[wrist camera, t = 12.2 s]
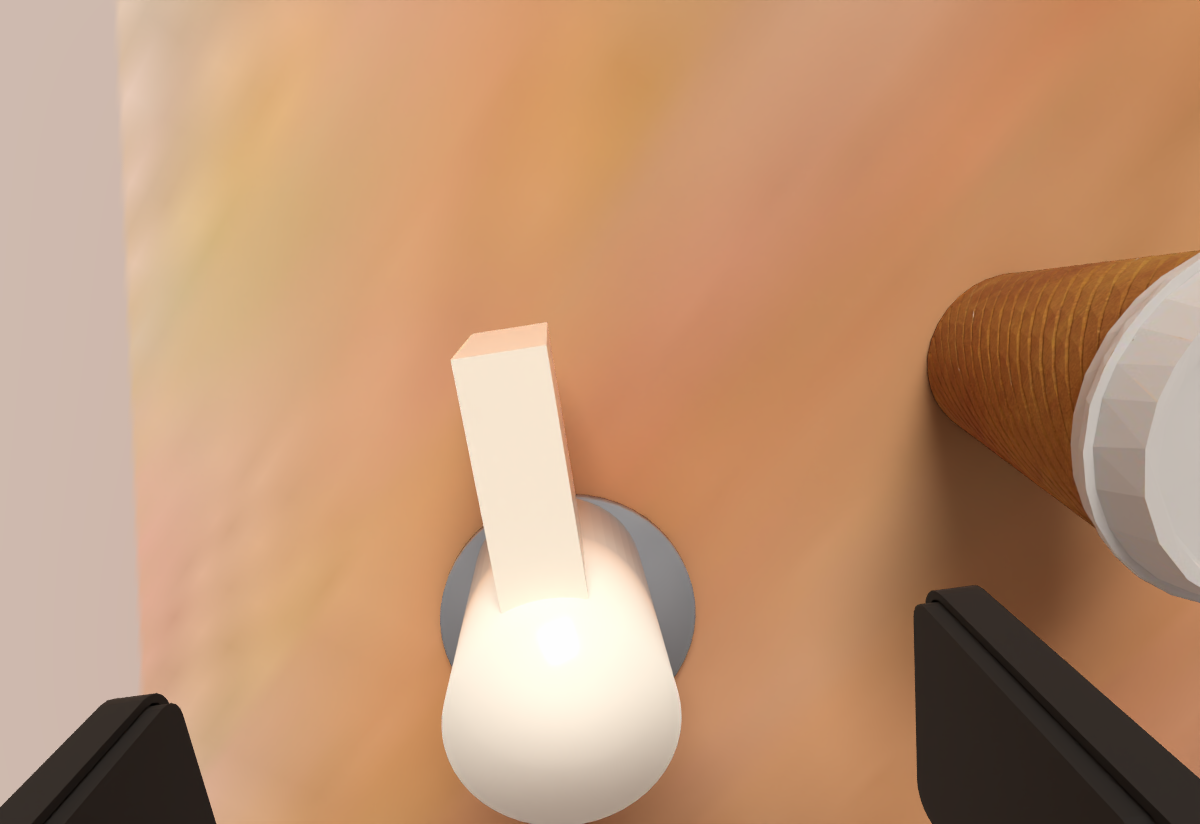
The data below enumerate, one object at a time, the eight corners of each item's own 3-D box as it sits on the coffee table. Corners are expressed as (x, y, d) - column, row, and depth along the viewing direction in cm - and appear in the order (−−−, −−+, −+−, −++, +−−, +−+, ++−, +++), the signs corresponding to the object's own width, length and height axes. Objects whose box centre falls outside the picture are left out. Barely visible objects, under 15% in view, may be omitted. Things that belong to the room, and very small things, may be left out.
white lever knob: (651, 635, 29) (694, 803, 21) (491, 662, 29) (466, 844, 20) (603, 304, 26) (629, 337, 17) (423, 332, 26) (360, 379, 17)
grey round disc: (679, 477, 28) (682, 482, 28) (703, 702, 31) (706, 711, 30) (421, 513, 28) (418, 519, 28) (465, 739, 30) (463, 748, 30)
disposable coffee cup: (855, 450, 29) (1063, 596, 17) (929, 202, 27) (1222, 174, 15) (1076, 493, 30) (1414, 658, 18) (1163, 258, 28) (1607, 272, 16)
